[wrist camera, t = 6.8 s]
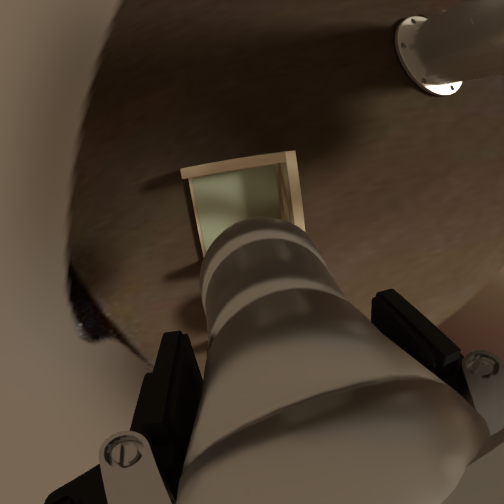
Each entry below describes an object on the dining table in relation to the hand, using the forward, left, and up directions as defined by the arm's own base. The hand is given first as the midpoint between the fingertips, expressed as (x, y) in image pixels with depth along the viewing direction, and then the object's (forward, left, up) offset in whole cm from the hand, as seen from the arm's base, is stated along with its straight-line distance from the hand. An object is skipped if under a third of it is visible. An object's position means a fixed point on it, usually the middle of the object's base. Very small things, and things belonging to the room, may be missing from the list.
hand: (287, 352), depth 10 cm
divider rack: (+4, +4, -27) cm, 27 cm away
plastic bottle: (0, 0, -9) cm, 9 cm away
